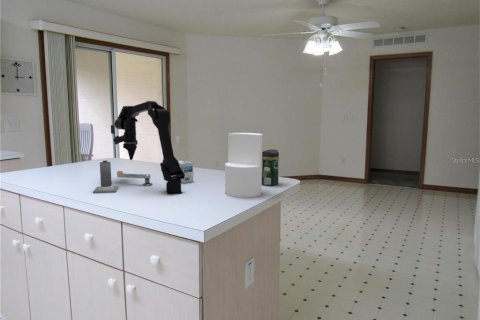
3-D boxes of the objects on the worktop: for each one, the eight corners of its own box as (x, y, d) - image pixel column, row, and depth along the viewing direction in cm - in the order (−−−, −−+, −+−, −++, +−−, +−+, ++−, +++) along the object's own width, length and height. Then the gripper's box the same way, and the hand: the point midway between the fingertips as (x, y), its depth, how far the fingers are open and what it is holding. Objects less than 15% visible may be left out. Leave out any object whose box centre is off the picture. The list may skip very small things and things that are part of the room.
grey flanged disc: (150, 183, 182) (149, 177, 181) (154, 185, 178) (153, 178, 177) (140, 184, 179) (140, 178, 178) (144, 186, 175) (144, 179, 174)
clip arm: (151, 177, 179) (151, 172, 178) (148, 178, 176) (148, 173, 175) (119, 176, 181) (119, 170, 181) (116, 177, 178) (116, 171, 178)
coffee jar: (267, 181, 190) (268, 148, 187) (280, 183, 186) (281, 149, 183) (258, 184, 182) (259, 149, 179) (272, 186, 178) (273, 151, 175)
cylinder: (237, 187, 176) (237, 132, 172) (267, 191, 168) (268, 133, 163) (217, 194, 162) (217, 134, 157) (250, 199, 153) (251, 136, 149)
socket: (118, 187, 172) (118, 185, 172) (115, 192, 162) (115, 190, 162) (97, 188, 170) (97, 186, 170) (93, 193, 160) (92, 191, 160)
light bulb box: (193, 182, 187) (193, 162, 185) (183, 183, 182) (183, 163, 180) (181, 179, 194) (181, 160, 192) (171, 180, 189) (171, 161, 188)
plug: (114, 187, 168) (113, 160, 166) (109, 189, 163) (107, 161, 161) (103, 186, 169) (102, 159, 167) (97, 189, 163) (96, 161, 161)
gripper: (115, 129, 188) (117, 157, 190) (111, 131, 170) (113, 162, 172) (137, 129, 191) (138, 157, 193) (135, 131, 173) (136, 162, 175)
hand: (131, 159), depth 183 cm, fingers closed
